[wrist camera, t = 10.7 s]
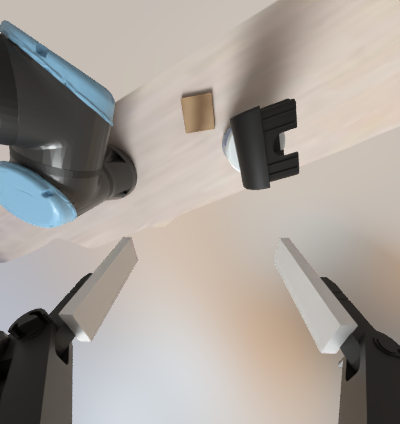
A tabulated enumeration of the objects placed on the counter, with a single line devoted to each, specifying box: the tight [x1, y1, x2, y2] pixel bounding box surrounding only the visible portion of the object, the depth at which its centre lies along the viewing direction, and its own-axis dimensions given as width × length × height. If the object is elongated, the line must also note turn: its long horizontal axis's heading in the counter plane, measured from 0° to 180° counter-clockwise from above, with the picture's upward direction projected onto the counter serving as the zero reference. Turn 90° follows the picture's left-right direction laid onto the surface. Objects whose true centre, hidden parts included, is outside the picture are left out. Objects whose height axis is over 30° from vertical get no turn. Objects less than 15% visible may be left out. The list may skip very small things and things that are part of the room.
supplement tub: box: [222, 127, 285, 172], centre depth 31 cm, size 10×10×15 cm
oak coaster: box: [181, 93, 214, 133], centre depth 35 cm, size 7×7×1 cm
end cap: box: [230, 99, 299, 190], centre depth 22 cm, size 10×7×7 cm
